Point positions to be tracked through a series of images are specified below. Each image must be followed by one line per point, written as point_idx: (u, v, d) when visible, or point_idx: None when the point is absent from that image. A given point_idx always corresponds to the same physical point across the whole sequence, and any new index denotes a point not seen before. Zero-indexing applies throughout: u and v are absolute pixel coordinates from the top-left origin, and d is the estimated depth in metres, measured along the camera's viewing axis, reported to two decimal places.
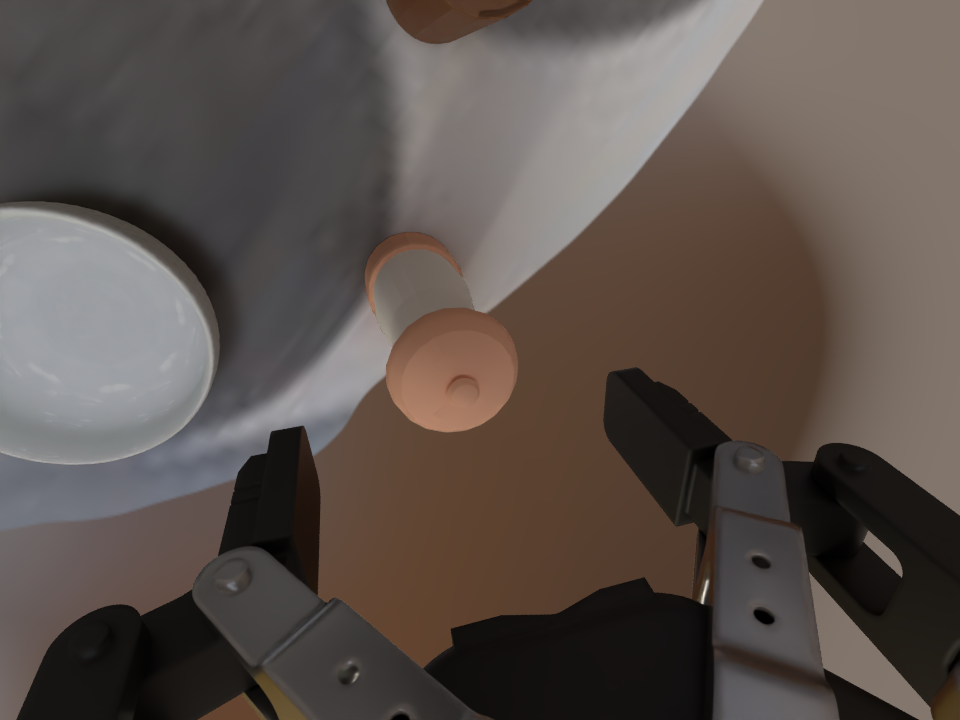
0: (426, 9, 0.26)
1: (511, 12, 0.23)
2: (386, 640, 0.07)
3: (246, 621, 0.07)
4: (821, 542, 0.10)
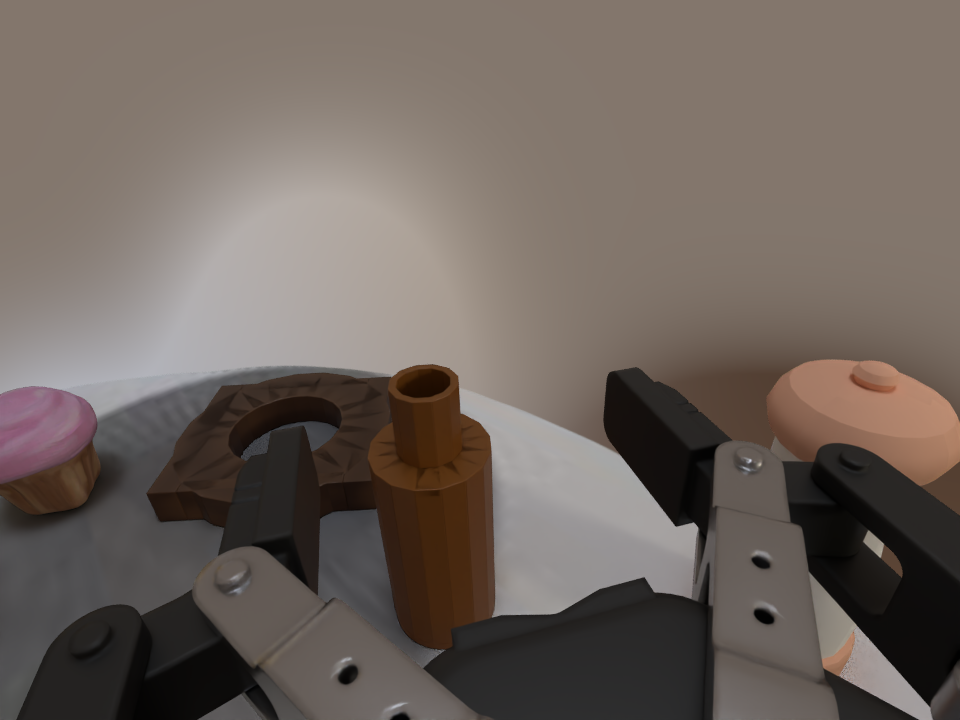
0: (477, 529, 0.27)
1: (485, 431, 0.28)
2: (386, 640, 0.07)
3: (246, 621, 0.07)
4: (821, 542, 0.10)
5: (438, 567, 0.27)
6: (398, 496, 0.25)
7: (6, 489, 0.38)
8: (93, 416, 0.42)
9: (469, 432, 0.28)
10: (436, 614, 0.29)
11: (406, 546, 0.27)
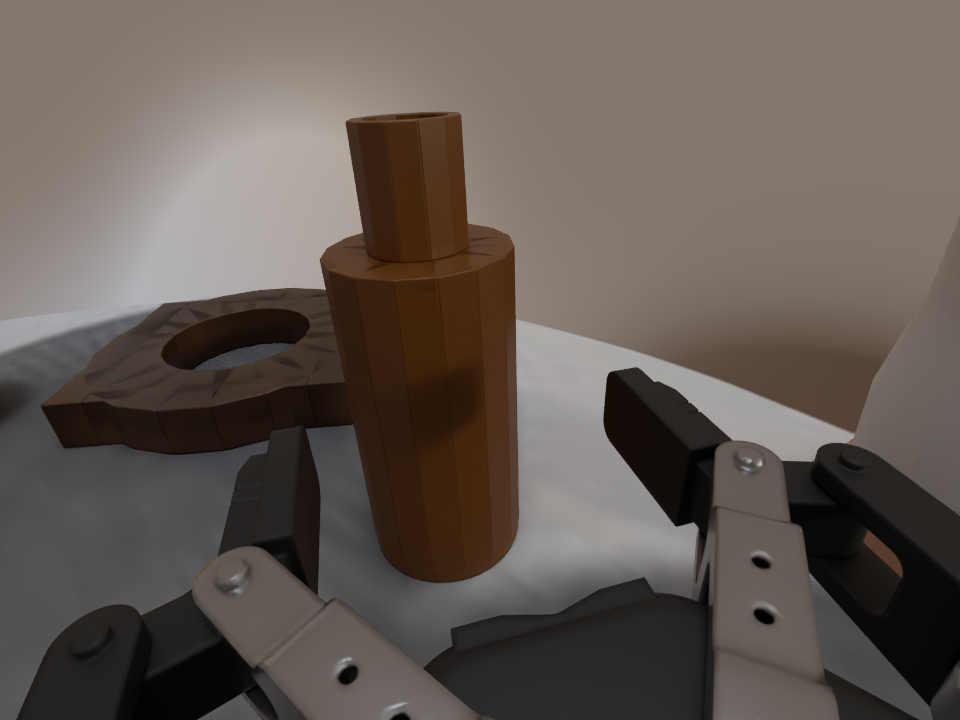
0: (496, 374, 0.17)
1: (503, 233, 0.18)
2: (386, 640, 0.07)
3: (246, 621, 0.07)
4: (821, 542, 0.10)
5: (436, 435, 0.17)
6: (367, 299, 0.15)
7: None
8: None
9: (478, 234, 0.18)
10: (435, 521, 0.19)
11: (384, 400, 0.17)
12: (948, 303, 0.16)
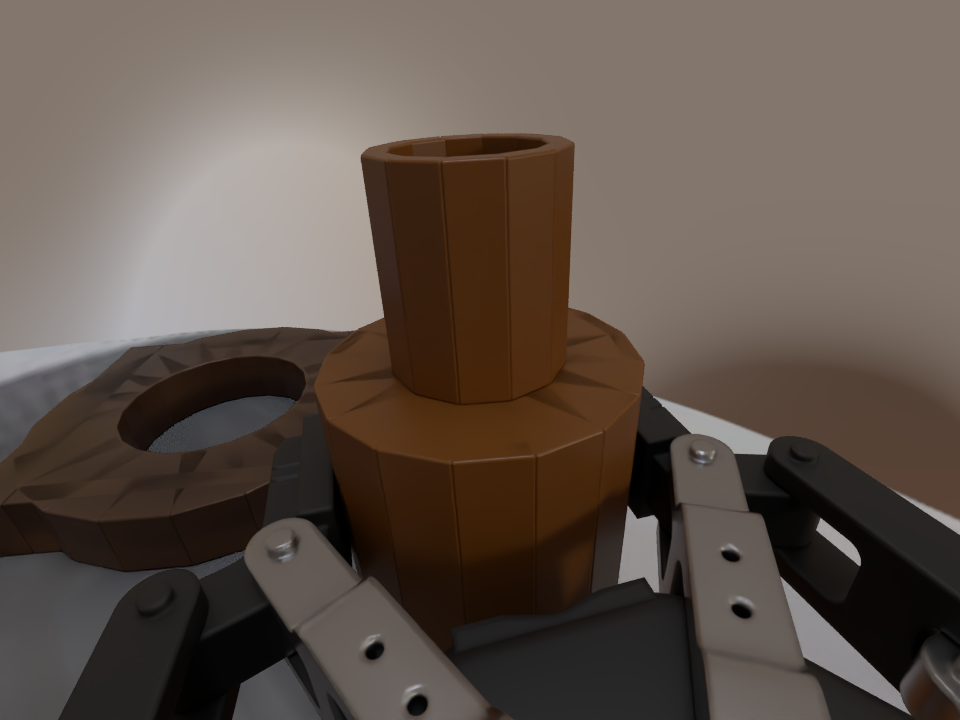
0: (607, 571, 0.10)
1: (610, 327, 0.11)
2: (413, 623, 0.07)
3: (289, 587, 0.08)
4: (773, 533, 0.10)
5: None
6: (400, 485, 0.08)
7: None
8: None
9: (571, 329, 0.11)
10: None
11: (422, 626, 0.10)
12: None
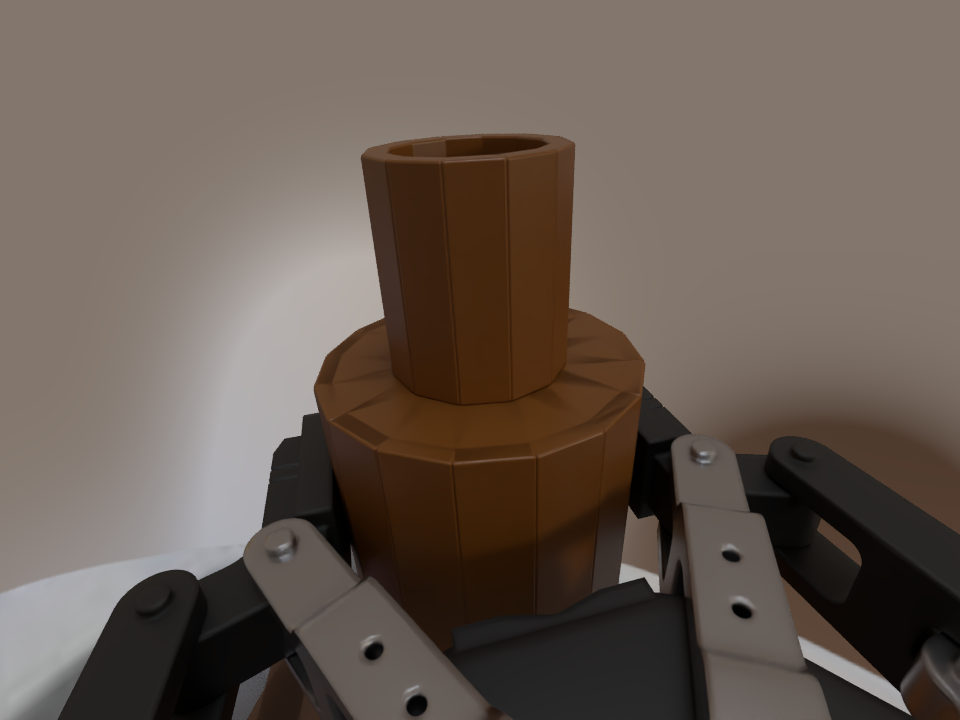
0: (608, 571, 0.10)
1: (611, 327, 0.11)
2: (413, 623, 0.07)
3: (288, 588, 0.08)
4: (774, 533, 0.10)
5: None
6: (400, 486, 0.08)
7: None
8: None
9: (571, 329, 0.11)
10: None
11: (423, 626, 0.10)
12: None
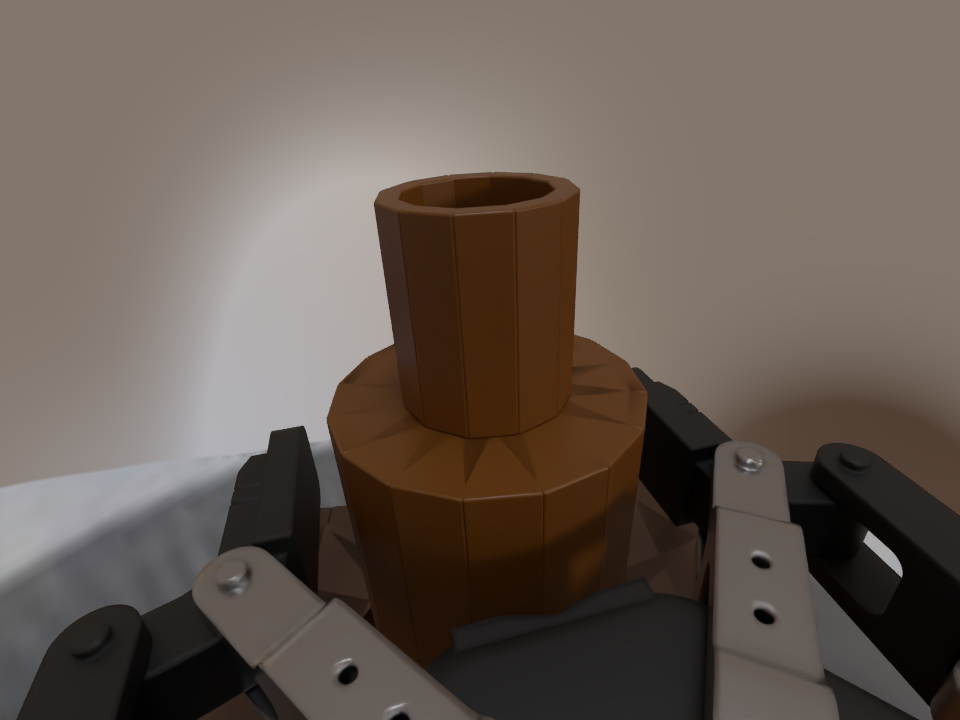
0: None
1: (614, 355, 0.12)
2: (386, 640, 0.07)
3: (246, 621, 0.07)
4: (821, 542, 0.10)
5: None
6: (412, 519, 0.09)
7: None
8: None
9: (576, 357, 0.12)
10: None
11: (433, 649, 0.10)
12: None
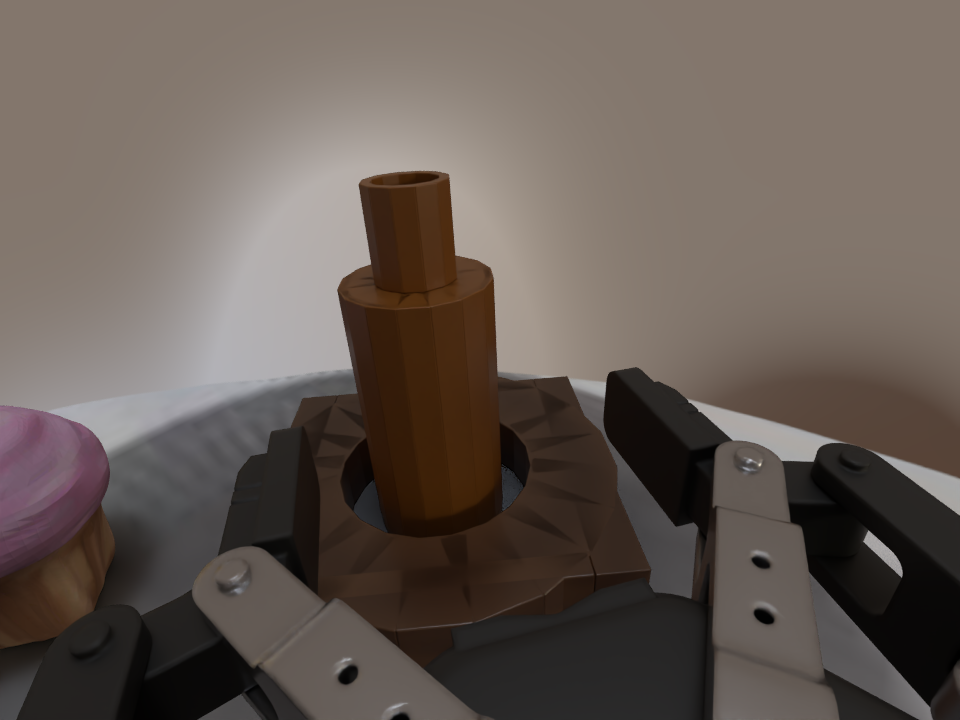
0: (479, 381, 0.22)
1: (485, 266, 0.23)
2: (386, 640, 0.07)
3: (246, 621, 0.07)
4: (821, 542, 0.10)
5: (430, 430, 0.21)
6: (375, 323, 0.19)
7: None
8: (103, 458, 0.23)
9: (465, 267, 0.22)
10: (430, 502, 0.23)
11: (389, 402, 0.21)
12: None
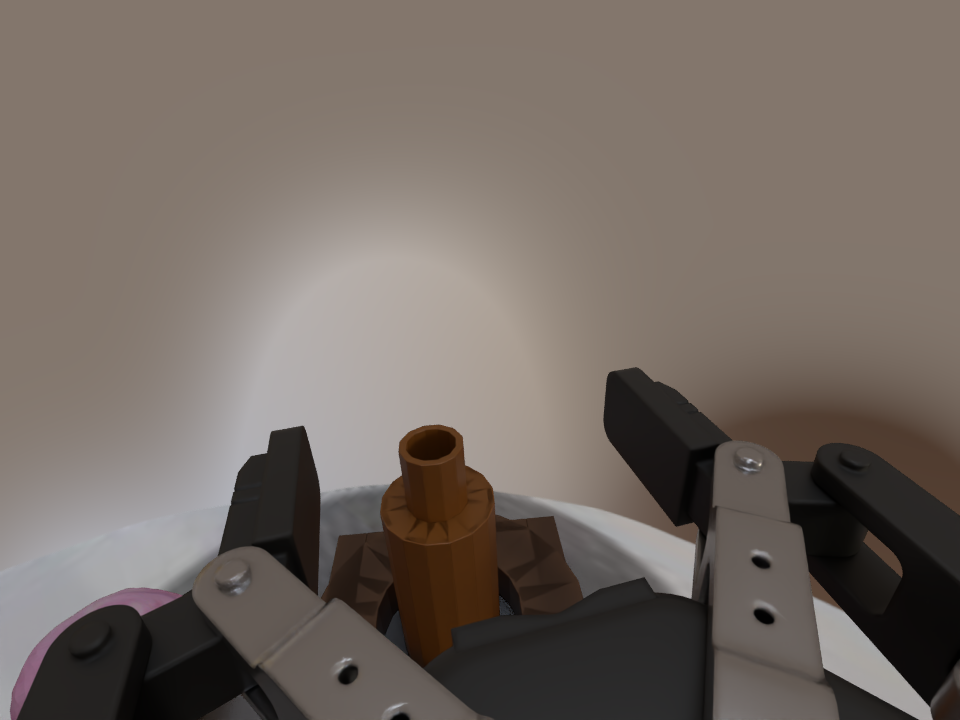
0: (483, 575, 0.29)
1: (488, 483, 0.30)
2: (386, 640, 0.07)
3: (246, 621, 0.07)
4: (821, 542, 0.10)
5: (448, 612, 0.29)
6: (410, 550, 0.27)
7: None
8: None
9: (473, 484, 0.30)
10: None
11: (417, 594, 0.29)
12: None
